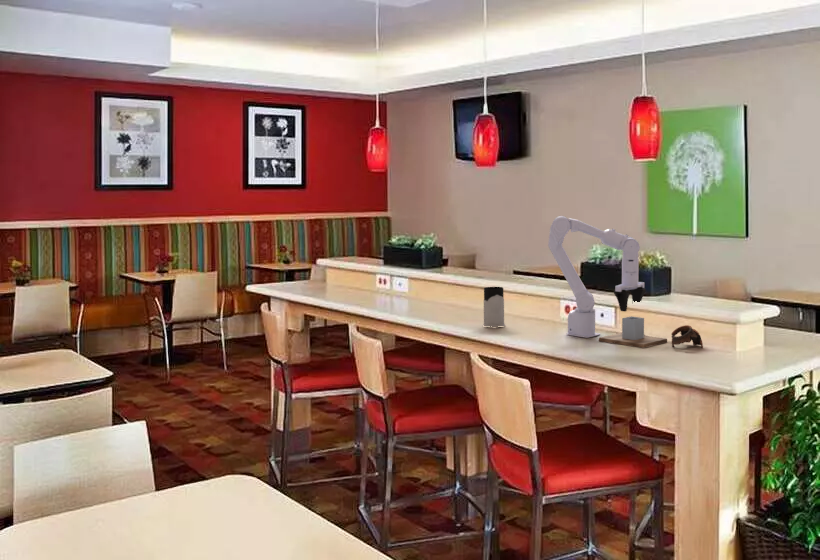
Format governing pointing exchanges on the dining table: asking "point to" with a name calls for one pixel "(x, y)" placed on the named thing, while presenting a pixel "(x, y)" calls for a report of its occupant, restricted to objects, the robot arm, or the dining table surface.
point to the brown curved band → (686, 336)
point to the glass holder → (493, 306)
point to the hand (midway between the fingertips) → (629, 309)
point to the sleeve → (633, 328)
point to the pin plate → (640, 343)
